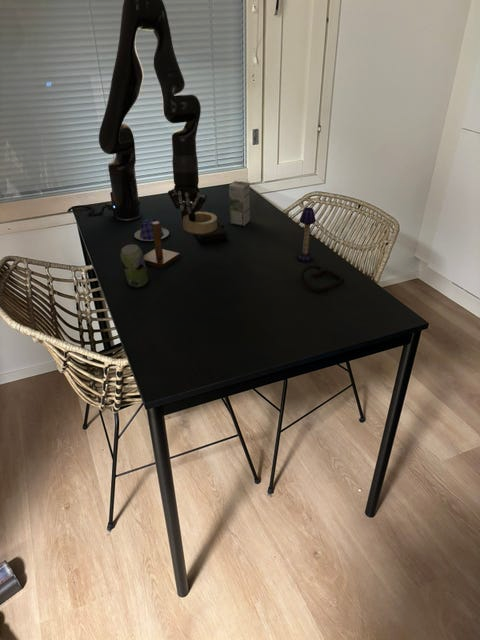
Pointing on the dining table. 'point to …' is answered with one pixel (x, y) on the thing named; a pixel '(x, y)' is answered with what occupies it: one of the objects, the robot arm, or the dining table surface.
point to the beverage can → (134, 265)
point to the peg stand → (159, 251)
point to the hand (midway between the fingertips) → (188, 222)
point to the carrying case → (213, 235)
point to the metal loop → (319, 275)
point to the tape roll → (200, 223)
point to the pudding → (149, 231)
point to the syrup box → (239, 202)
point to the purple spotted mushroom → (306, 232)
